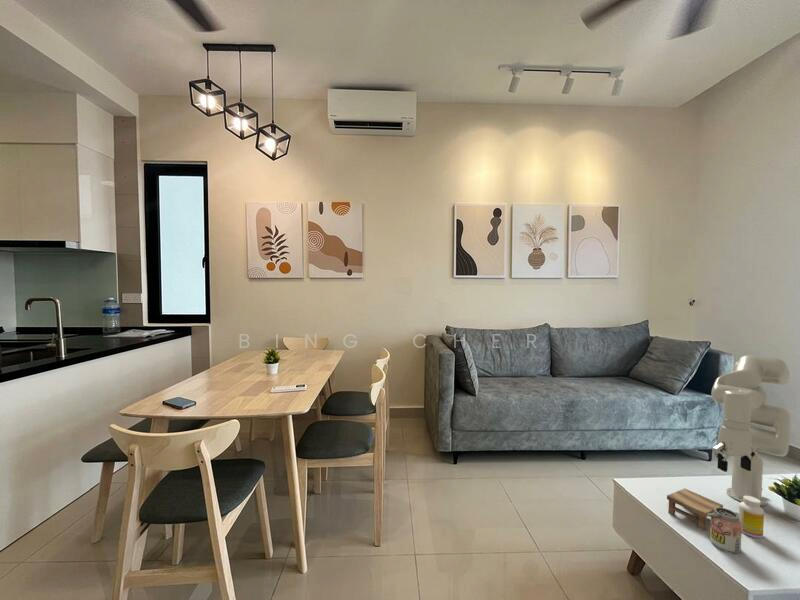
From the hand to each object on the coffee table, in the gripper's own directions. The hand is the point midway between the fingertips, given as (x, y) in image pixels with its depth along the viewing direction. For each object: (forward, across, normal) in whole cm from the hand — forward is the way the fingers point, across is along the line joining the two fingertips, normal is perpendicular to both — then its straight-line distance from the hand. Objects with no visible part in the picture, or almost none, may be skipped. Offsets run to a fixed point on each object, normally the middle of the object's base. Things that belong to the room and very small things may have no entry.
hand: (733, 469), depth 136 cm
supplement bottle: (+23, -6, +2) cm, 24 cm away
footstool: (+23, +7, -8) cm, 26 cm away
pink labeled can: (+23, +11, +7) cm, 27 cm away
